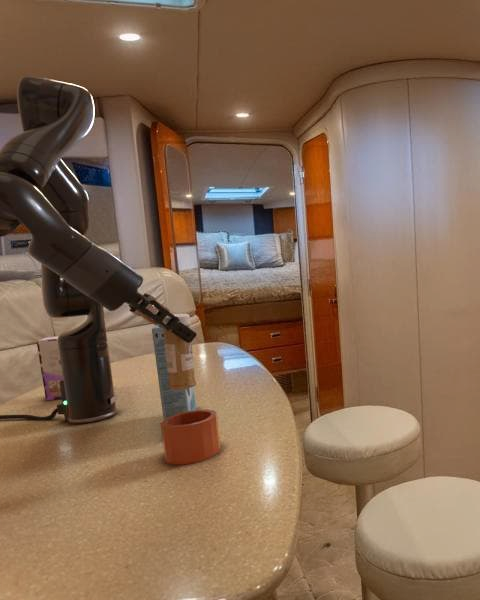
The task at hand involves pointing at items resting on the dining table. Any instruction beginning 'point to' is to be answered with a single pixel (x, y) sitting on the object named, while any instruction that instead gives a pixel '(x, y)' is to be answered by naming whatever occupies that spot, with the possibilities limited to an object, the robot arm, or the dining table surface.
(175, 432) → the cup
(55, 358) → the candy box
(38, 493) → the dining table surface
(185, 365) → the sprinkles bottle
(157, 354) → the gum box
